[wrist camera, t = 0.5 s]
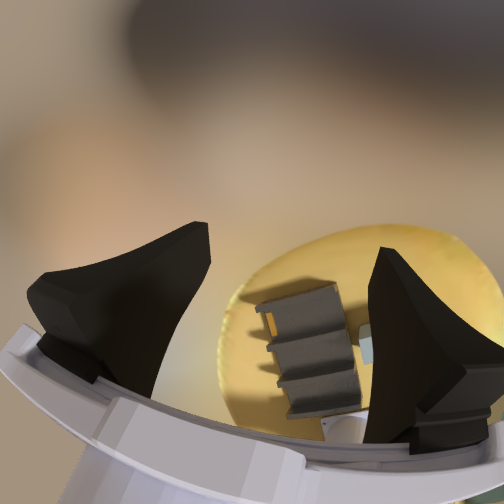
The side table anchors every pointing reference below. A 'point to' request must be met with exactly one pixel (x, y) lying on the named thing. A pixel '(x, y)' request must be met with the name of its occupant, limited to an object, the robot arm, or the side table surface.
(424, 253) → the side table surface
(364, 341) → the light grey rectangular block
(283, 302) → the rack
